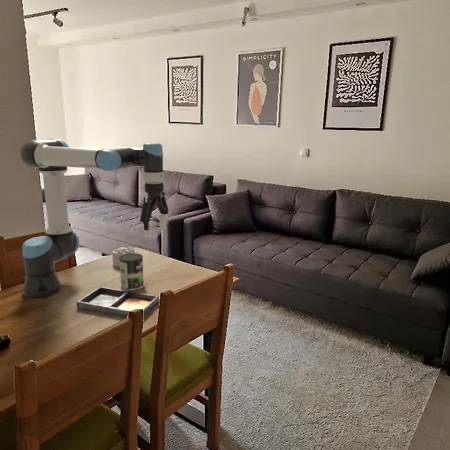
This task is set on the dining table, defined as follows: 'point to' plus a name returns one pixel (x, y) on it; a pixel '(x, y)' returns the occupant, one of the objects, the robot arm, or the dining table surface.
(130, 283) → the coffee can
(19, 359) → the dining table surface
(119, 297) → the grey divided tray
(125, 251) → the lumpy-topped squat cylinder
